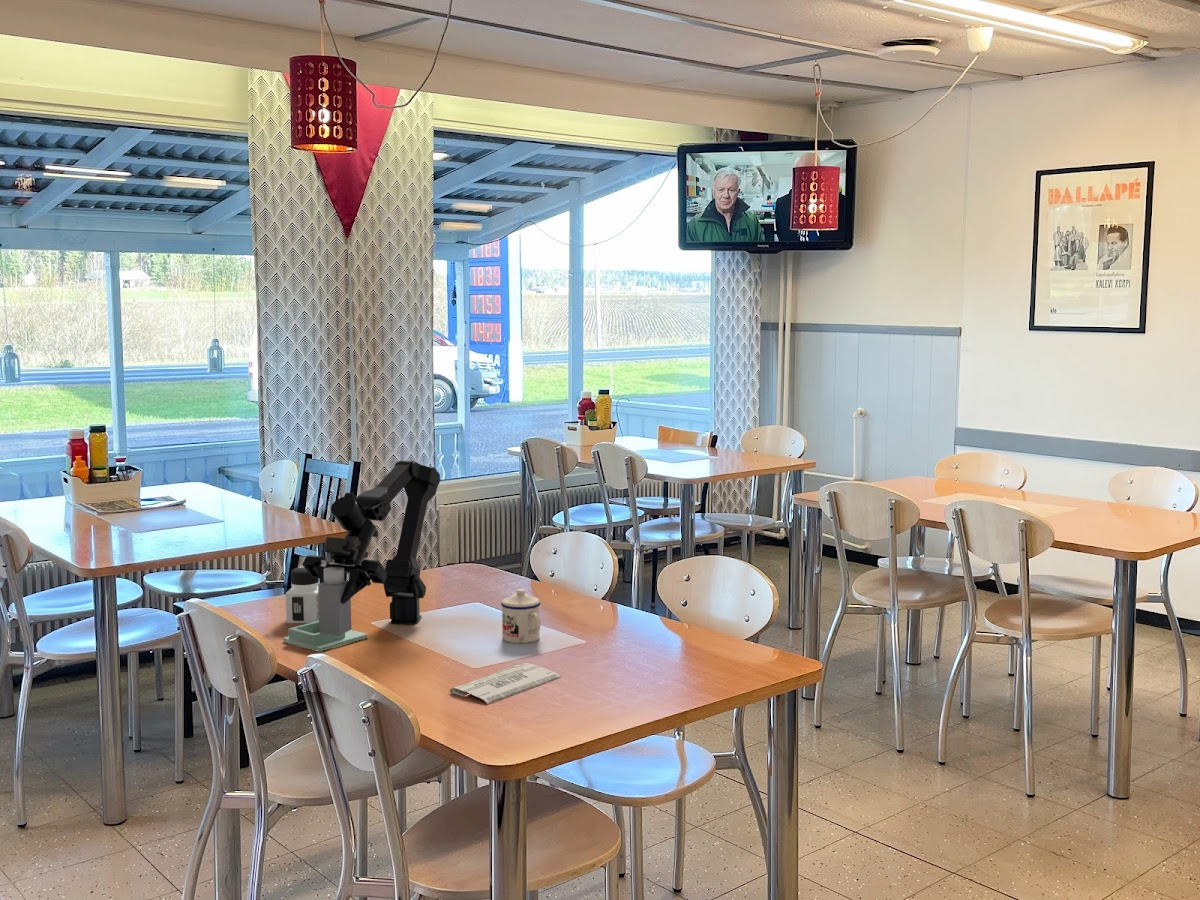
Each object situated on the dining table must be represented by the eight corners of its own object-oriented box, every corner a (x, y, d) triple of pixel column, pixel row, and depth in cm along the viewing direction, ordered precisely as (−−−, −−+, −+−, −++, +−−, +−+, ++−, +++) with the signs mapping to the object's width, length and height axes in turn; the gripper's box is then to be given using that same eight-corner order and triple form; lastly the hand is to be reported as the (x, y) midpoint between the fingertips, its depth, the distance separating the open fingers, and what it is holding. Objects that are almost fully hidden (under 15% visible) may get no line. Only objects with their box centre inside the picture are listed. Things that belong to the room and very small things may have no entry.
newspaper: (517, 668, 250) (518, 657, 250) (560, 685, 243) (561, 674, 242) (440, 695, 233) (440, 683, 233) (483, 714, 225) (483, 702, 225)
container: (317, 623, 283) (316, 571, 282) (286, 623, 283) (284, 571, 282) (325, 615, 291) (324, 564, 289) (294, 615, 291) (293, 564, 289)
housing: (331, 628, 279) (331, 614, 278) (367, 638, 271) (367, 623, 270) (283, 641, 268) (283, 627, 267) (319, 652, 260) (319, 636, 259)
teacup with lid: (493, 637, 272) (493, 589, 270) (526, 631, 277) (525, 583, 276) (522, 649, 262) (522, 599, 261) (555, 642, 268) (555, 593, 266)
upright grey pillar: (331, 627, 258) (330, 565, 257) (351, 629, 257) (349, 567, 255) (319, 633, 254) (317, 570, 252) (339, 635, 252) (337, 572, 250)
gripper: (305, 519, 259) (278, 578, 250) (379, 524, 253) (354, 585, 244) (325, 547, 267) (300, 605, 258) (397, 552, 262) (374, 612, 253)
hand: (331, 601), depth 253 cm, fingers closed on upright grey pillar, 5 cm apart
